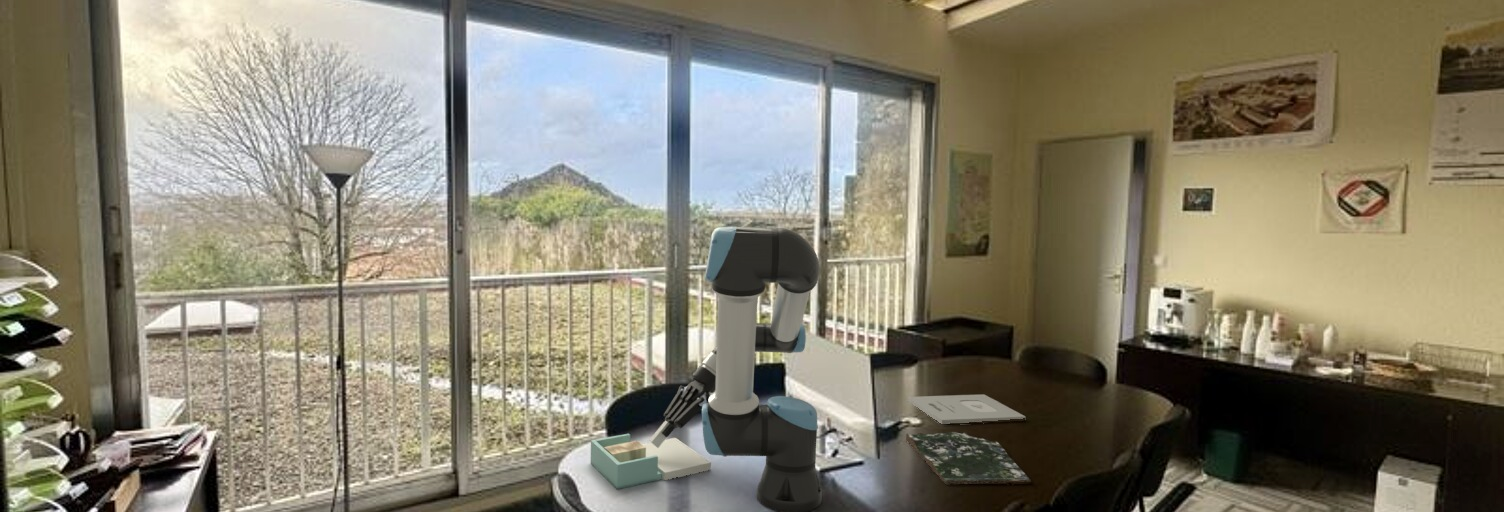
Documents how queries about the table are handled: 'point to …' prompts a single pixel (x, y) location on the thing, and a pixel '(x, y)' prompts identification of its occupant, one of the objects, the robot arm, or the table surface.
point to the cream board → (676, 459)
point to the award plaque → (964, 408)
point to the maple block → (627, 451)
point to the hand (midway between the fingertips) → (653, 444)
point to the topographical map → (966, 459)
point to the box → (622, 464)
